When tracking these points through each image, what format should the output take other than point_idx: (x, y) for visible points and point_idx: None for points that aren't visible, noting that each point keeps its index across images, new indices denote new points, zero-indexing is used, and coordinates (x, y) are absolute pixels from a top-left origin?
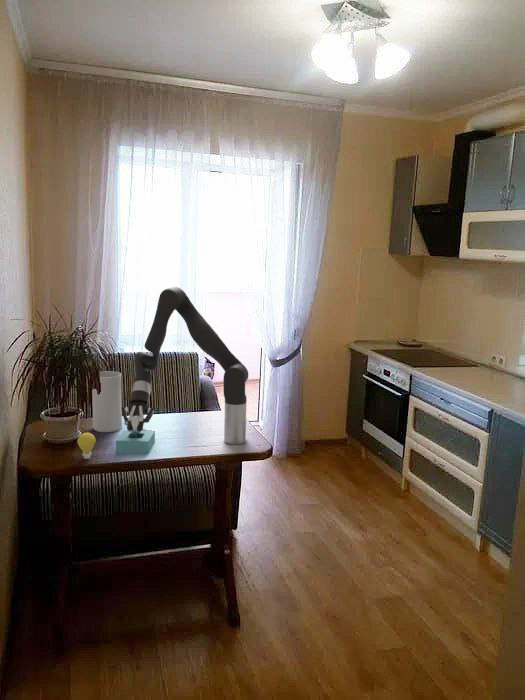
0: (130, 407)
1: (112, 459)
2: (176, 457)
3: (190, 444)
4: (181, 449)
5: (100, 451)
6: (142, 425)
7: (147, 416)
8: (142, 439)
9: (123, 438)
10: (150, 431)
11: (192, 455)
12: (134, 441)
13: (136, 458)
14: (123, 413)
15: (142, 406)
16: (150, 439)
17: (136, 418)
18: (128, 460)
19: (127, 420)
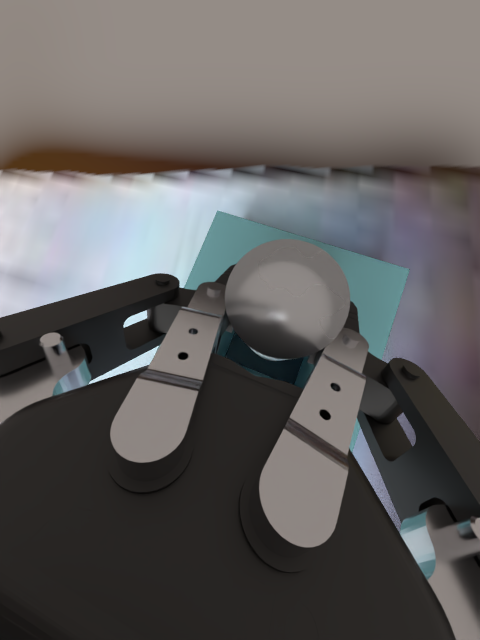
0: (386, 561)
1: (392, 211)
2: (132, 177)
3: (32, 307)
4: (87, 257)
5: (454, 328)
6: (222, 274)
7: (137, 291)
8: (244, 250)
9: (357, 295)
10: None
11: (71, 185)
12: (293, 234)
13: (287, 200)
14: (474, 450)
15: (97, 469)
16: (197, 264)
17: (277, 247)
18: (323, 186)
19: (367, 355)
